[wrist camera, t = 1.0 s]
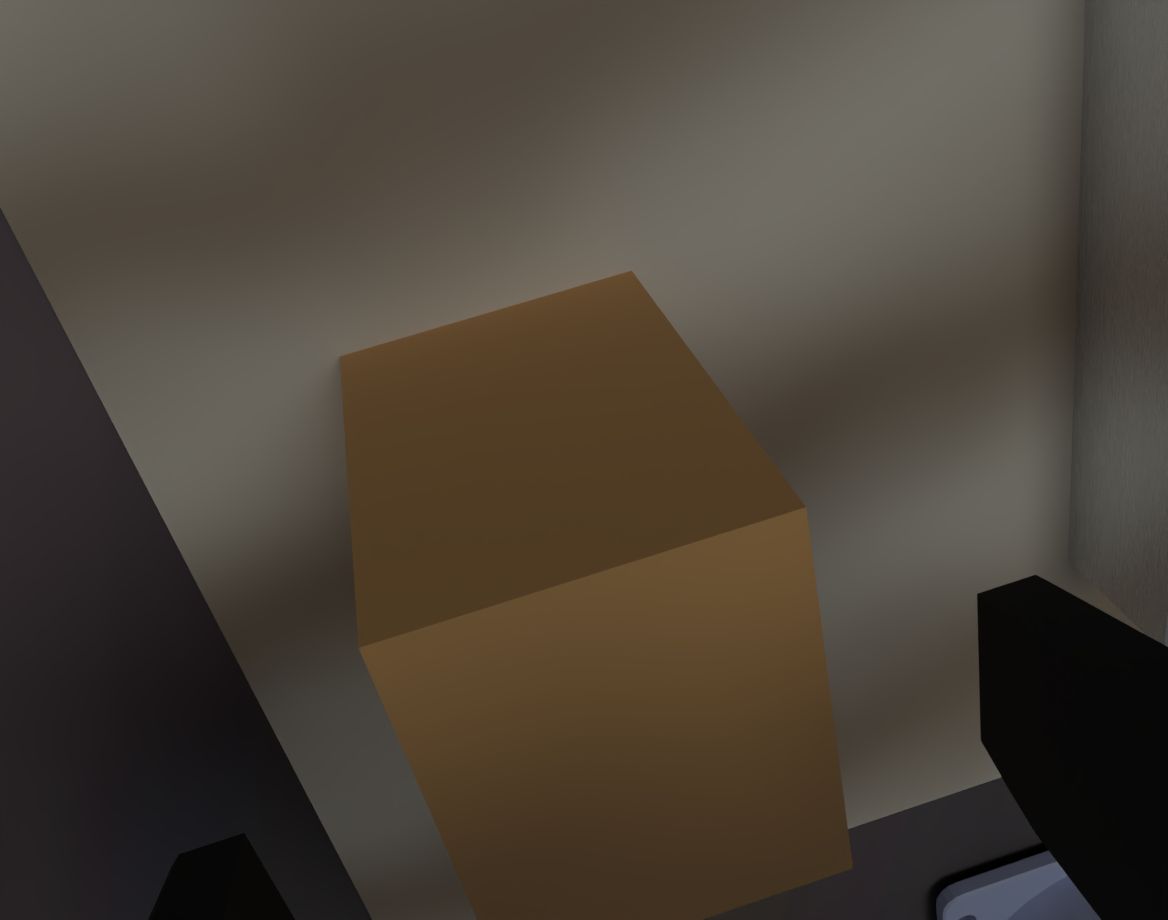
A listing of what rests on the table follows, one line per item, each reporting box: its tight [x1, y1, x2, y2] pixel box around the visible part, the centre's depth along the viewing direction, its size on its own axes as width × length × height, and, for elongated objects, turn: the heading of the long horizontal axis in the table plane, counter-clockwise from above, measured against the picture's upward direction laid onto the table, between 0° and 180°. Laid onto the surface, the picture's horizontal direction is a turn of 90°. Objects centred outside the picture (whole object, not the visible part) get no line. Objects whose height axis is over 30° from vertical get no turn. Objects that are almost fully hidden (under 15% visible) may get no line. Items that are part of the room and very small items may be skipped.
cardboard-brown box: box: [340, 271, 853, 920], centre depth 13 cm, size 5×4×6 cm
